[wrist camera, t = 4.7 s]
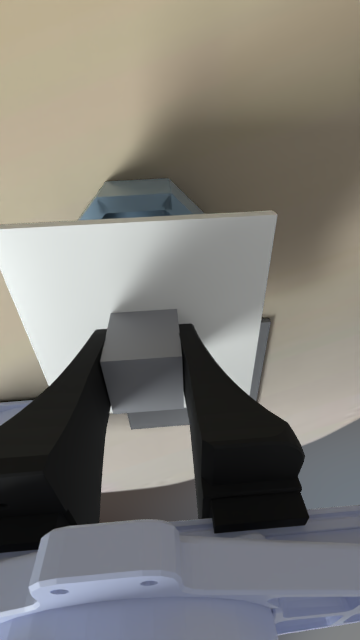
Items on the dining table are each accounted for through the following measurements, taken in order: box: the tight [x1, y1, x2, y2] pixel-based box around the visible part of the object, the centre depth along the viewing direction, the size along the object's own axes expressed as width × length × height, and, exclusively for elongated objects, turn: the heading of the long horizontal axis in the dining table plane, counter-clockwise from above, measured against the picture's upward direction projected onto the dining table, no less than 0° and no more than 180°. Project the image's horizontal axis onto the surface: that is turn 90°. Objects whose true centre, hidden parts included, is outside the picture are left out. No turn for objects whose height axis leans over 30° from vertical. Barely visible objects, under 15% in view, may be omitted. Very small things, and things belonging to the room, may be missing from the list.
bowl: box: [78, 178, 205, 220], centre depth 19 cm, size 9×9×4 cm
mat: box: [127, 318, 271, 429], centre depth 28 cm, size 13×13×1 cm
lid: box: [0, 210, 277, 414], centre depth 13 cm, size 11×11×4 cm
